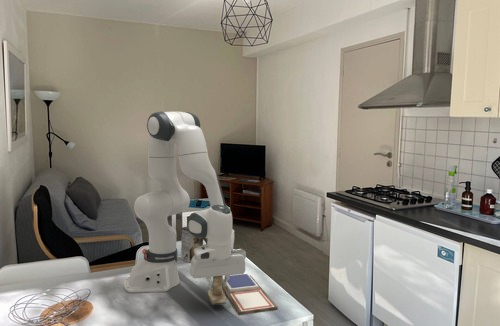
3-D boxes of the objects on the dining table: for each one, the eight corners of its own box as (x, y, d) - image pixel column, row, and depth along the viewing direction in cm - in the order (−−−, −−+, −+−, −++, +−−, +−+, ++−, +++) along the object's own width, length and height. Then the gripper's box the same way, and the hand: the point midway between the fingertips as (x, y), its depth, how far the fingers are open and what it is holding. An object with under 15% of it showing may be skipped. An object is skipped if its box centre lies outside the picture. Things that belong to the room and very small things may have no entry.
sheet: (241, 311, 137) (241, 310, 137) (230, 293, 150) (230, 293, 150) (274, 306, 141) (274, 306, 141) (260, 290, 154) (260, 289, 154)
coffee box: (194, 254, 194) (195, 223, 193) (203, 258, 190) (204, 226, 189) (180, 259, 187) (181, 227, 186) (189, 263, 183) (189, 230, 182)
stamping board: (238, 315, 136) (238, 312, 136) (217, 280, 164) (217, 278, 164) (277, 309, 141) (277, 306, 141) (250, 277, 169) (250, 275, 169)
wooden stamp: (212, 305, 137) (213, 280, 136) (208, 296, 144) (209, 272, 143) (225, 303, 139) (227, 278, 138) (220, 294, 145) (222, 271, 144)
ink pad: (230, 292, 151) (230, 288, 151) (221, 279, 164) (221, 275, 163) (258, 288, 155) (258, 285, 155) (248, 276, 168) (248, 272, 167)
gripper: (243, 245, 145) (241, 280, 147) (189, 249, 139) (188, 285, 140) (249, 251, 140) (246, 287, 141) (193, 255, 133) (191, 293, 134)
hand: (217, 286), depth 141 cm, fingers closed on wooden stamp, 3 cm apart
